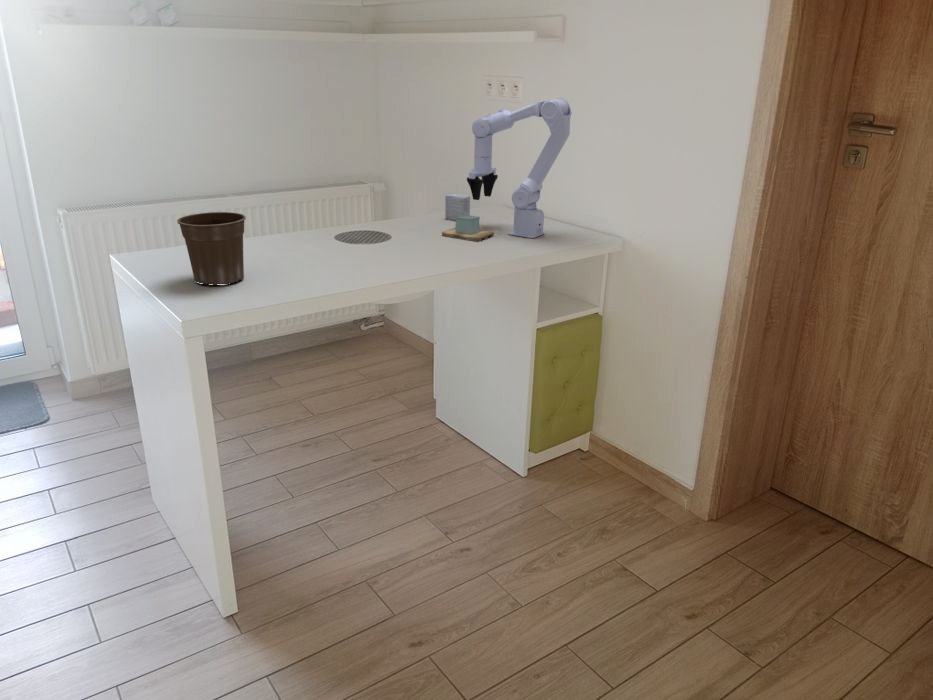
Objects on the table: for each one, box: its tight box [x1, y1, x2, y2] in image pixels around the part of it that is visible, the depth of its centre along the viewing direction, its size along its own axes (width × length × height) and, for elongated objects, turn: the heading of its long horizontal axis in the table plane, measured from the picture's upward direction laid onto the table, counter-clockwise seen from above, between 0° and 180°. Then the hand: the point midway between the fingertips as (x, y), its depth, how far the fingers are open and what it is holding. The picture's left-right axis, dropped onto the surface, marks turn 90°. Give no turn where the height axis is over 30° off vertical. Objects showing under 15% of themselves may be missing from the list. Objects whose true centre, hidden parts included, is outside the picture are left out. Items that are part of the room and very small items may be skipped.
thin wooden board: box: [441, 227, 495, 242], centre depth 233 cm, size 14×10×1 cm
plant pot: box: [177, 211, 246, 285], centre depth 180 cm, size 16×16×16 cm
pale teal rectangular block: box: [455, 214, 480, 235], centre depth 232 cm, size 6×5×5 cm
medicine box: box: [444, 193, 471, 222], centre depth 254 cm, size 8×4×9 cm, turn 58°
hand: (481, 197), depth 239 cm, fingers open, 7 cm apart
